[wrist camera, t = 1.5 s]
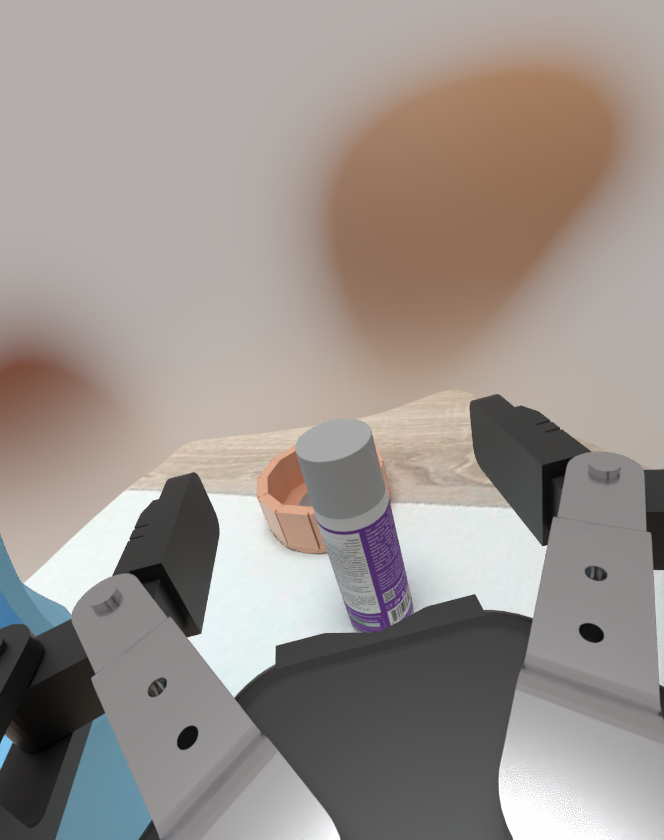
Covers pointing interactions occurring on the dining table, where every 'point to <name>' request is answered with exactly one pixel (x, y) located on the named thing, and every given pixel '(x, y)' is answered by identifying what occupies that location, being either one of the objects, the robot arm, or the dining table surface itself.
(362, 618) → the container
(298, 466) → the faceted terracotta pot
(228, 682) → the dining table surface
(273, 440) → the dining table surface
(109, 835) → the vase
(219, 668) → the dining table surface
